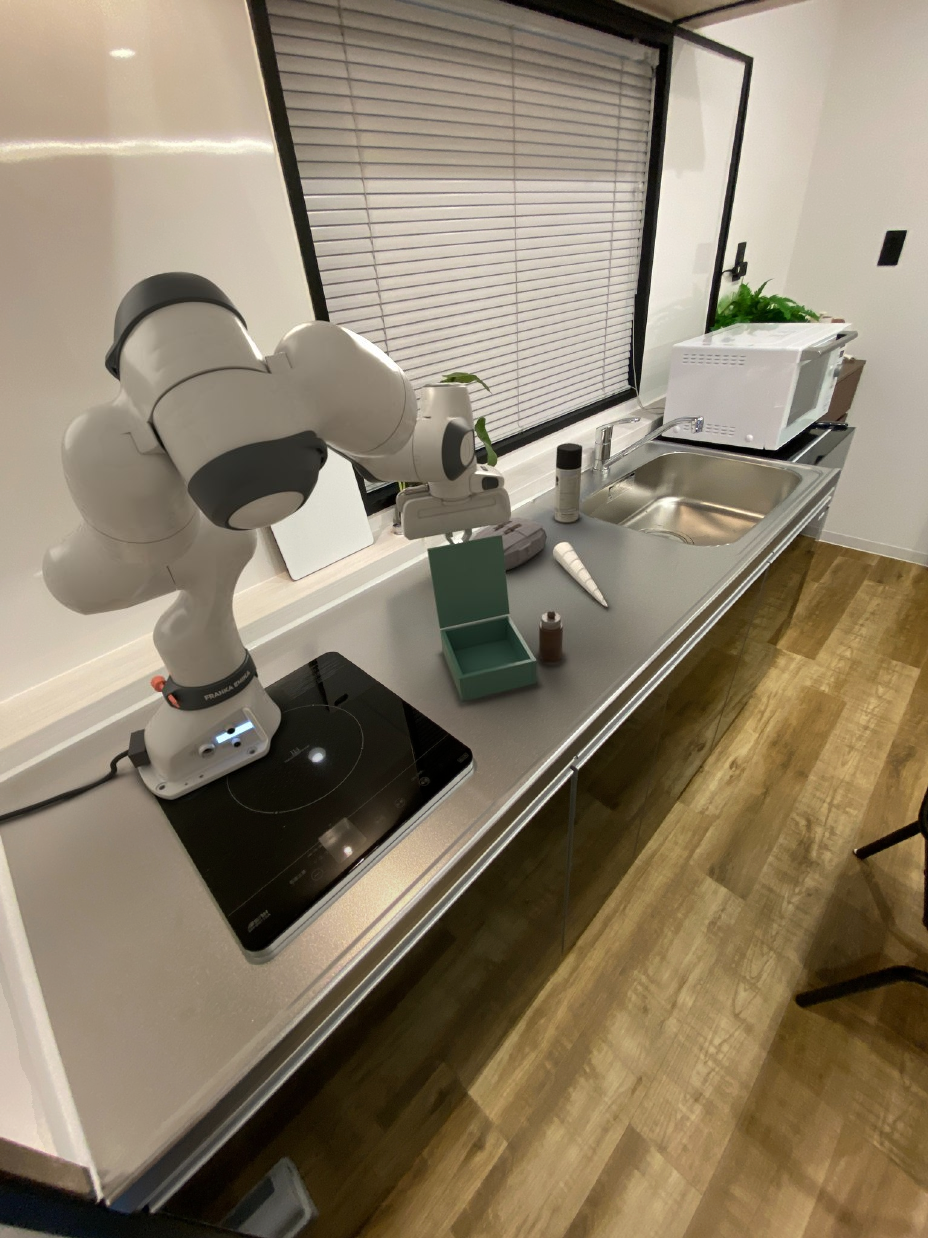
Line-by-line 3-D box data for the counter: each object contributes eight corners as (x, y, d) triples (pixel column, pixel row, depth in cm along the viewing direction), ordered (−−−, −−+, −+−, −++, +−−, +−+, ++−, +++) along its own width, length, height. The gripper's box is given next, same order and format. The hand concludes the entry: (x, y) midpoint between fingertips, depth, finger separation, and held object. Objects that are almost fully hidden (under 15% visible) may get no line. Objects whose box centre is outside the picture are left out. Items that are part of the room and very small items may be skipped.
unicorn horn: (589, 612, 110) (591, 592, 108) (551, 560, 130) (551, 542, 127) (611, 608, 111) (613, 588, 108) (570, 557, 130) (570, 539, 128)
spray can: (565, 511, 153) (567, 440, 141) (583, 517, 148) (587, 445, 137) (549, 518, 149) (550, 447, 138) (568, 525, 145) (570, 452, 133)
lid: (502, 535, 95) (500, 534, 95) (427, 549, 93) (427, 548, 93) (509, 613, 101) (508, 612, 102) (440, 628, 99) (439, 627, 100)
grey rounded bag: (508, 579, 124) (559, 546, 135) (507, 547, 119) (560, 516, 130) (462, 560, 133) (513, 531, 144) (459, 530, 128) (512, 502, 140)
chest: (536, 686, 93) (536, 660, 90) (462, 704, 91) (459, 678, 88) (509, 639, 105) (509, 614, 102) (443, 654, 103) (440, 629, 100)
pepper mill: (552, 669, 97) (553, 621, 91) (534, 659, 99) (534, 612, 93) (566, 657, 99) (568, 610, 93) (548, 648, 102) (549, 602, 96)
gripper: (396, 496, 89) (408, 568, 97) (513, 476, 92) (514, 547, 100) (391, 483, 94) (402, 553, 102) (501, 465, 98) (504, 534, 105)
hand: (459, 550), depth 101 cm, fingers closed
